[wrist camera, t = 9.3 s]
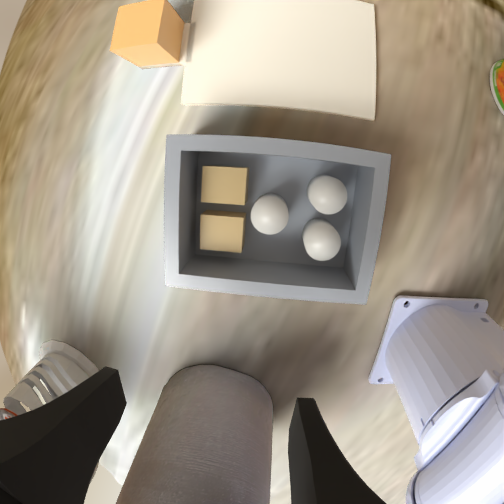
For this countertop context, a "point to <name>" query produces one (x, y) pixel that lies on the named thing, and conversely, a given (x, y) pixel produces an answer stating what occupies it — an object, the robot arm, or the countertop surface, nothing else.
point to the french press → (49, 378)
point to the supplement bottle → (498, 83)
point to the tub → (273, 217)
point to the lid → (260, 52)
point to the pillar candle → (205, 442)
